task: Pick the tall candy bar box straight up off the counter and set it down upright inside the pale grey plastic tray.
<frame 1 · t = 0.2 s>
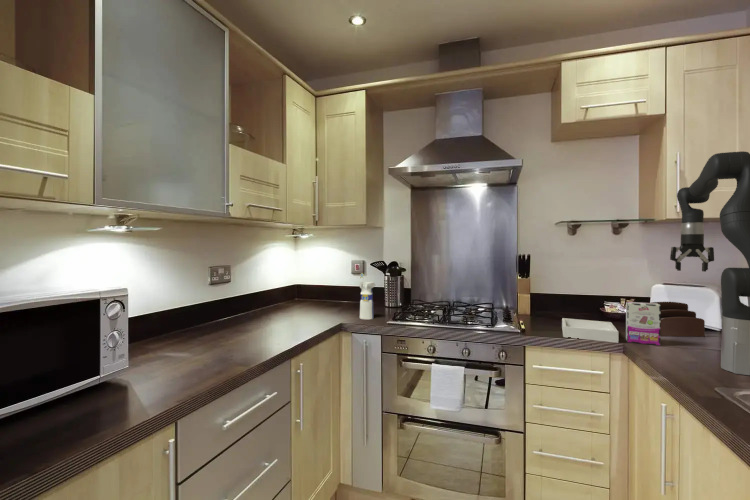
hand: (691, 271, 156), 29 cm above the worktop, tool pointing down, fingers open, 8 cm apart
letter holder: (672, 334, 163), on the worktop
candy bar box: (642, 343, 149), on the worktop
tray: (587, 334, 162), on the worktop
white spray bottle: (367, 318, 194), on the worktop
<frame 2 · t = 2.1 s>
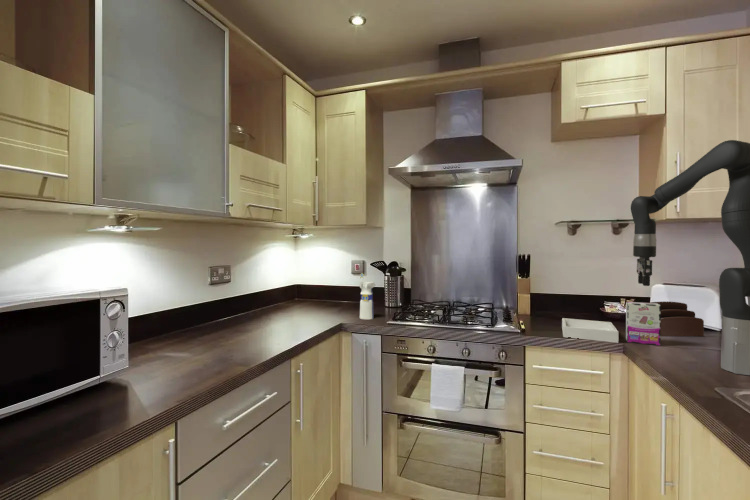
hand: (643, 284, 148), 24 cm above the worktop, tool pointing down, fingers open, 8 cm apart
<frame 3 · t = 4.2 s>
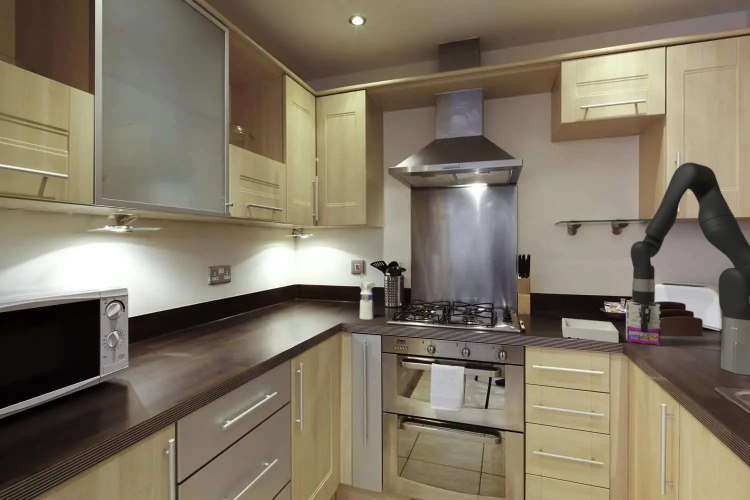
hand: (642, 330, 149), 5 cm above the worktop, tool pointing down, fingers closed on candy bar box, 5 cm apart
candy bar box: (642, 343, 149), on the worktop, touching gripper
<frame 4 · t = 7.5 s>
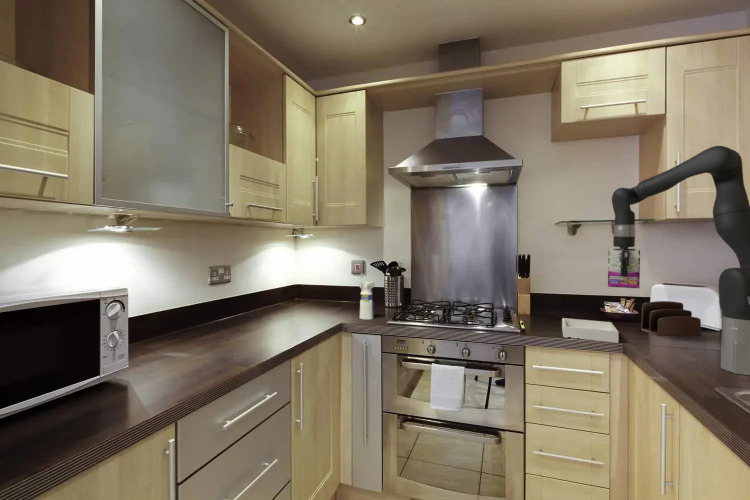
hand: (622, 275, 153), 27 cm above the worktop, tool pointing down, fingers closed on candy bar box, 5 cm apart
candy bar box: (622, 287, 154), point 22 cm above the worktop, touching gripper
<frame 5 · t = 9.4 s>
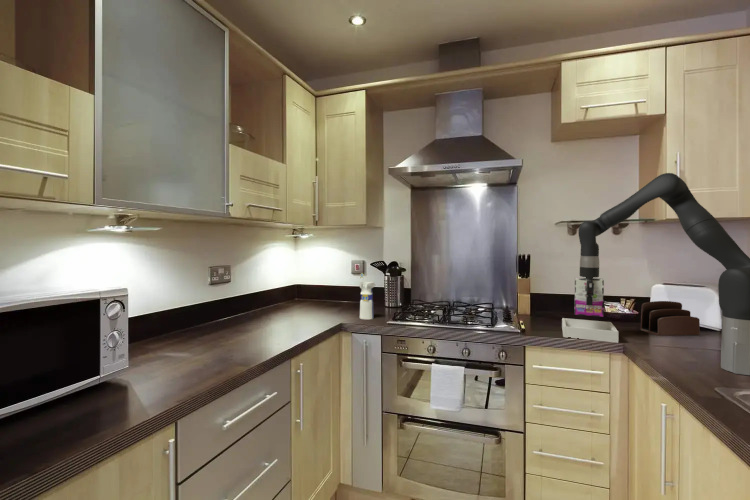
hand: (588, 304, 161), 14 cm above the worktop, tool pointing down, fingers closed on candy bar box, 5 cm apart
candy bar box: (588, 315, 161), point 9 cm above the worktop, touching gripper
when the fingers open (7 cm above the worktop, at t = 11.1 s): candy bar box drops 1 cm, resting on tray.
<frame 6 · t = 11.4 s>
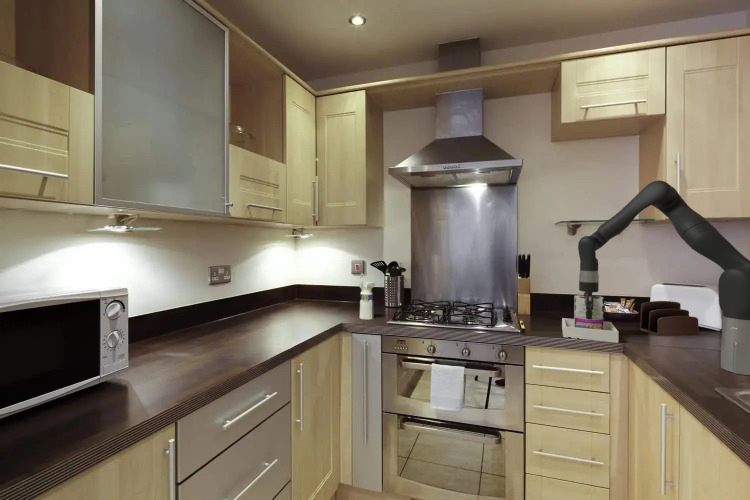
hand: (588, 317, 161), 8 cm above the worktop, tool pointing down, fingers open, 7 cm apart
candy bar box: (588, 332, 162), point 1 cm above the worktop, touching tray
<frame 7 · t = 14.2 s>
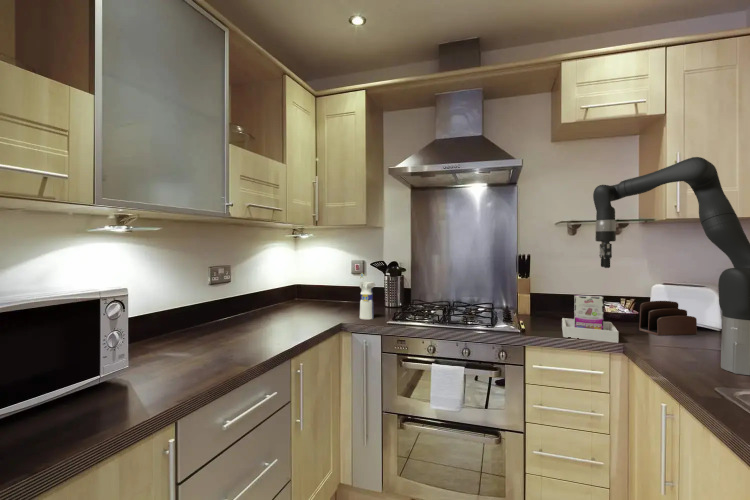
hand: (605, 267, 159), 30 cm above the worktop, tool pointing down, fingers open, 8 cm apart
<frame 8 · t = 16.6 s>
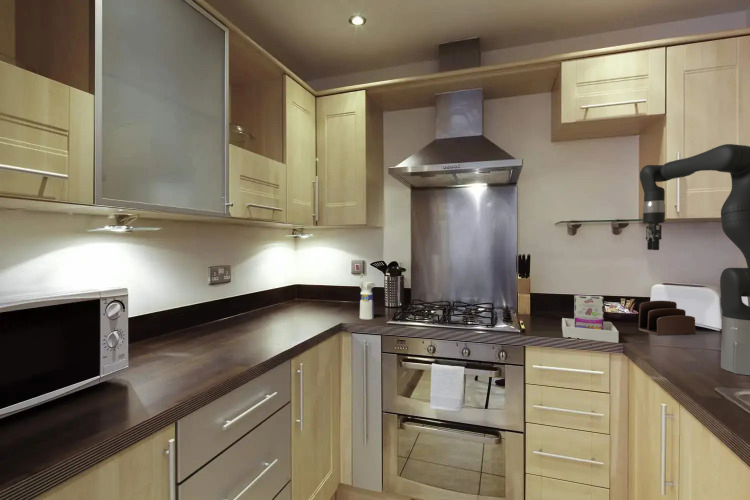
hand: (653, 249, 155), 38 cm above the worktop, tool pointing down, fingers open, 8 cm apart
at the end: candy bar box inside the target area on the tray (0.2 cm from its centre), point 0.6 cm above the tray's base; candy bar box tilted 0°; the gripper is holding nothing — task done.
